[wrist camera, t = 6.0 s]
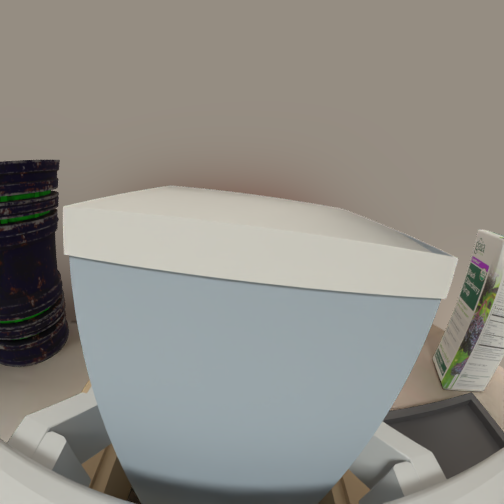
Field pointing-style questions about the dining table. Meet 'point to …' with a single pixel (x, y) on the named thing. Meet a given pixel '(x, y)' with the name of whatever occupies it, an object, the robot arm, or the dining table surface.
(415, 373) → the dining table surface
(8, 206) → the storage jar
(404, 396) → the dining table surface
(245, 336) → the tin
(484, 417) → the tray
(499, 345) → the syrup box
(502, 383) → the dining table surface
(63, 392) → the dining table surface
